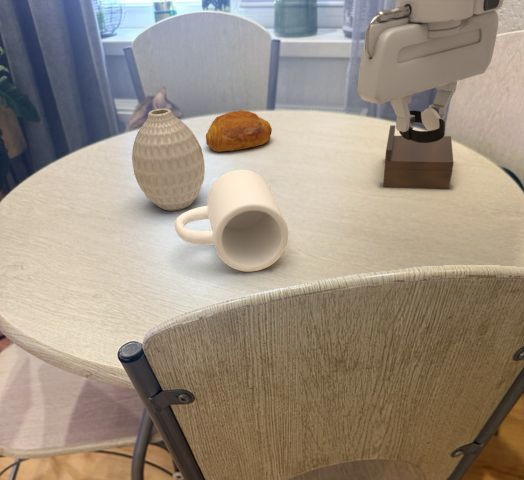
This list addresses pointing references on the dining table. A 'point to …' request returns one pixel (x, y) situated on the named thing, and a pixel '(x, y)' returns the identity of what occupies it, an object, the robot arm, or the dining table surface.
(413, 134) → the watch
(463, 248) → the dining table surface
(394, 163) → the brown wooden box
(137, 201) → the dining table surface
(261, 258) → the mug
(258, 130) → the croissant
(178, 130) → the vase
